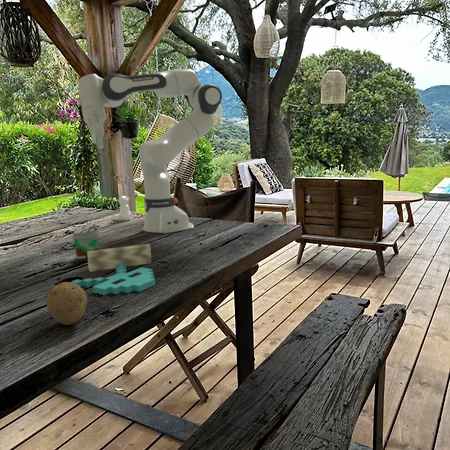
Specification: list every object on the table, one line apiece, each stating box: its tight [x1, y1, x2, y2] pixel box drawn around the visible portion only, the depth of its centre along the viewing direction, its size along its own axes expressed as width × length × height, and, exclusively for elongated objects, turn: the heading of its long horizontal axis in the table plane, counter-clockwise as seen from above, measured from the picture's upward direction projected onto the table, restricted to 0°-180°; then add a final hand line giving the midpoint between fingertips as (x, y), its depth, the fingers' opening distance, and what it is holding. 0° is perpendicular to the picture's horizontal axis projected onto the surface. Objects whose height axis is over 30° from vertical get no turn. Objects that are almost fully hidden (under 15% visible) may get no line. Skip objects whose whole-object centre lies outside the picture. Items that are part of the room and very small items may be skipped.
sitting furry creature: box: [112, 195, 133, 222], centre depth 225 cm, size 10×9×12 cm
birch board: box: [87, 243, 152, 272], centre depth 149 cm, size 20×3×6 cm, turn 114°
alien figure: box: [70, 263, 156, 296], centre depth 134 cm, size 20×2×20 cm
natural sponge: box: [45, 281, 88, 326], centre depth 105 cm, size 9×9×10 cm
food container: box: [72, 225, 101, 262], centre depth 160 cm, size 12×6×10 cm, turn 168°
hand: (101, 150), depth 182 cm, fingers open, 8 cm apart
